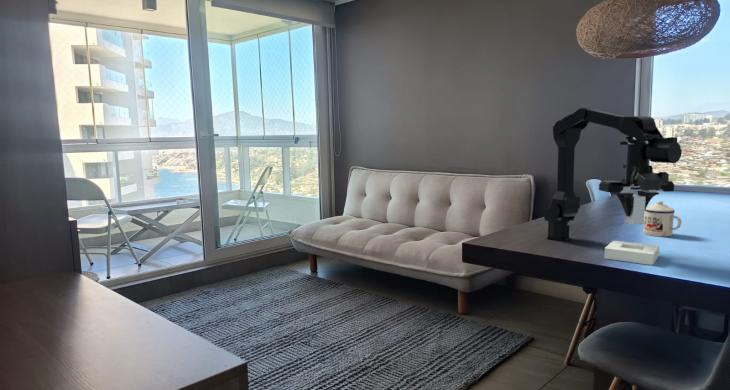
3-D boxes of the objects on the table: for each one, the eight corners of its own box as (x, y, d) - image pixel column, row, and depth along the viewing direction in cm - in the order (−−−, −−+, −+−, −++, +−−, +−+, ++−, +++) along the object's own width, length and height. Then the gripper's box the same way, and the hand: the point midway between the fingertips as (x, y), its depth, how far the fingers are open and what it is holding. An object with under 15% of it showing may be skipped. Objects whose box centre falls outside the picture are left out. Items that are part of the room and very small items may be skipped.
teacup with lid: (636, 233, 167) (639, 200, 166) (652, 230, 172) (654, 198, 170) (671, 239, 157) (674, 205, 155) (687, 236, 161) (690, 202, 159)
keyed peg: (632, 224, 133) (634, 196, 132) (623, 221, 138) (625, 194, 137) (643, 224, 133) (645, 196, 132) (634, 221, 138) (636, 194, 137)
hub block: (604, 258, 136) (604, 248, 135) (613, 249, 145) (613, 240, 145) (652, 265, 128) (653, 254, 128) (658, 255, 138) (659, 245, 137)
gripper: (621, 163, 125) (617, 222, 127) (690, 162, 125) (686, 220, 127) (599, 161, 136) (596, 214, 138) (663, 160, 136) (659, 213, 138)
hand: (634, 216), depth 135 cm, fingers closed on keyed peg, 3 cm apart
